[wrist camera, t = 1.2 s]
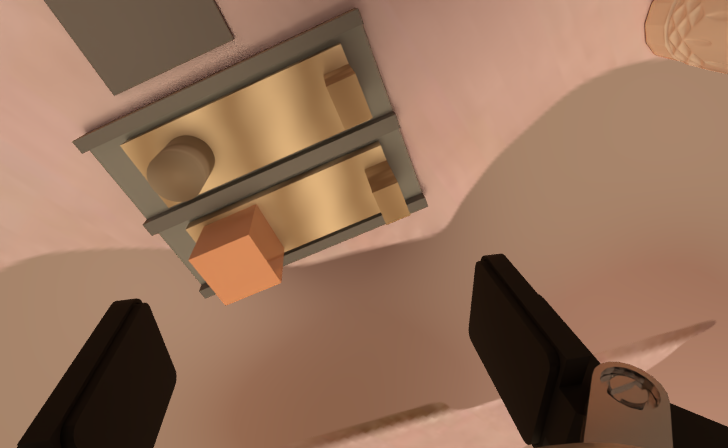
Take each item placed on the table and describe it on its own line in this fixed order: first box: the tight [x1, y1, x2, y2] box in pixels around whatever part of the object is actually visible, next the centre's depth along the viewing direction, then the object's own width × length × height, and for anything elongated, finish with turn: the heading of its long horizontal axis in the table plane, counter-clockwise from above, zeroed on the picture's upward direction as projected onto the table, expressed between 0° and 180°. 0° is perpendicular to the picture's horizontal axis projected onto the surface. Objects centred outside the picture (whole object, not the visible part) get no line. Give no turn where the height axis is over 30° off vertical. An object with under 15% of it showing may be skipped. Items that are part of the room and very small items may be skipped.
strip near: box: [120, 43, 373, 208], centre depth 28 cm, size 18×6×6 cm, turn 112°
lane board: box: [73, 8, 428, 298], centre depth 33 cm, size 23×17×2 cm
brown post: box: [147, 135, 215, 202], centre depth 28 cm, size 4×4×4 cm
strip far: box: [186, 141, 410, 252], centre depth 32 cm, size 18×6×6 cm, turn 112°
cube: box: [188, 204, 284, 305], centre depth 32 cm, size 5×5×5 cm
